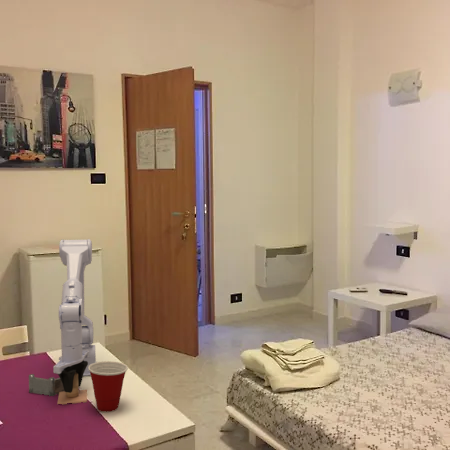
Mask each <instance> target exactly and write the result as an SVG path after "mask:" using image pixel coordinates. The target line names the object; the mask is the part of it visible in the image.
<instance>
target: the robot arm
mask: <svg viewBox="0 0 450 450" xmlns="http://www.w3.org/2000/svg"><path fill="white" fill-rule="evenodd" d="M58 248H59V249H58V250H59V251H58V252H59V257H60V260H61V262H62V265H65V266H66V281H65V282H64V283H63V284H62V292H61V303H60V304H59V306H58V320H59V330H60V334H61V335H60V336H61V340H60V341H61V344H60V345H61V355H60V357H58V360H59V361H58V362H57V363H56V364H55V365H53V369H52V370H53V374H57V375H58V378H60V379H61V381H62V384H63V387H64V391H65V392H69V393H71V392H72V390H73V379H74V375H75V373H78V386H79V388H80V387H81V386H82V382H83V377H87V376H88V377H89V376H91V374H90V371H89V368H88V367H89V366H90V365H91V364H93V363H96V362H97V361H96V360H97V359H96V344H93V343H94V323H93V320H92V318H89V317H88V316H86V315H85V271H86V266H88V265H90V264H92V262H93V261H92V260H93V258H92V257H93V242H92V239H91V238H87V239H61V240H60V241H59V246H58Z"/></svg>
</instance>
